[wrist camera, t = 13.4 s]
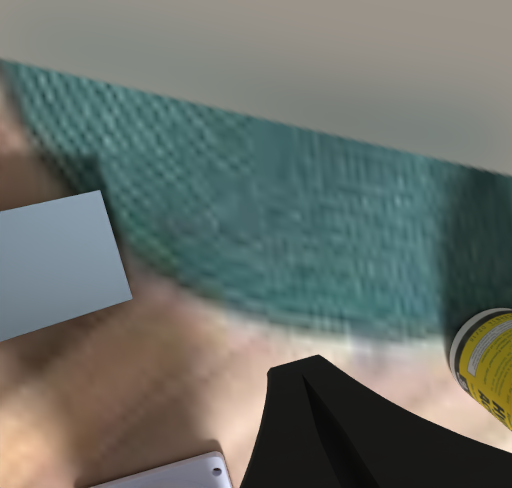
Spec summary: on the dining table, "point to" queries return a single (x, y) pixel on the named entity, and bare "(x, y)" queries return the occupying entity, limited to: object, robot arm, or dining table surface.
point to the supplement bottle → (486, 361)
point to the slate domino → (57, 263)
